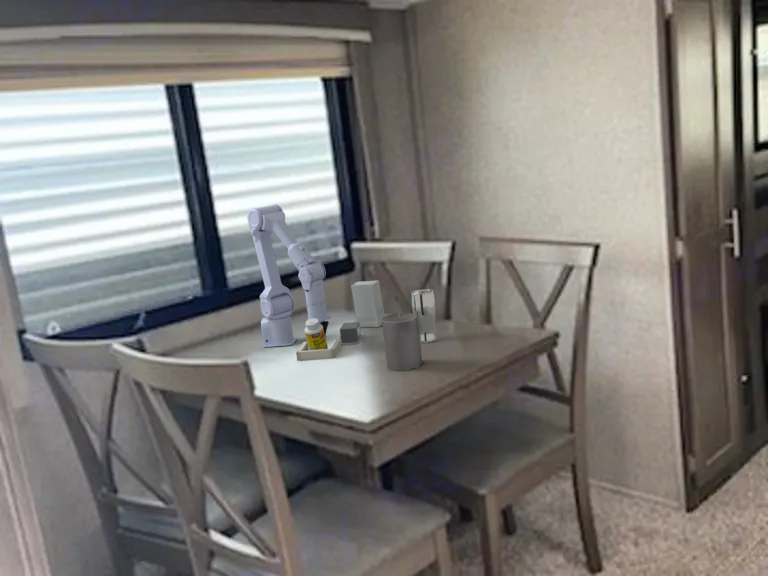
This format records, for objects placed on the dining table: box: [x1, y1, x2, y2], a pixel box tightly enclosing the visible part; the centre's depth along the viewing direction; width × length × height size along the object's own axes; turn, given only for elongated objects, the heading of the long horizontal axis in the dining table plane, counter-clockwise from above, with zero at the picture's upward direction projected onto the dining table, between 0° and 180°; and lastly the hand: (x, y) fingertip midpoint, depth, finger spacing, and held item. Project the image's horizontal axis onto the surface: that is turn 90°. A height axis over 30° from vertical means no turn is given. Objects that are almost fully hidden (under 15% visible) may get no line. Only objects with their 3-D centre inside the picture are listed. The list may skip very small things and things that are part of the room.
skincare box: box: [350, 280, 386, 328], centre depth 257 cm, size 8×6×15 cm
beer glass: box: [410, 288, 438, 344], centre depth 231 cm, size 7×7×15 cm
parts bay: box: [295, 338, 342, 361], centre depth 231 cm, size 11×11×2 cm
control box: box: [339, 321, 364, 347], centre depth 241 cm, size 6×10×5 cm, turn 174°
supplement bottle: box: [304, 318, 329, 350], centre depth 229 cm, size 6×6×10 cm
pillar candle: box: [381, 311, 423, 371], centre depth 209 cm, size 10×10×15 cm
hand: (321, 346), depth 235 cm, fingers closed
